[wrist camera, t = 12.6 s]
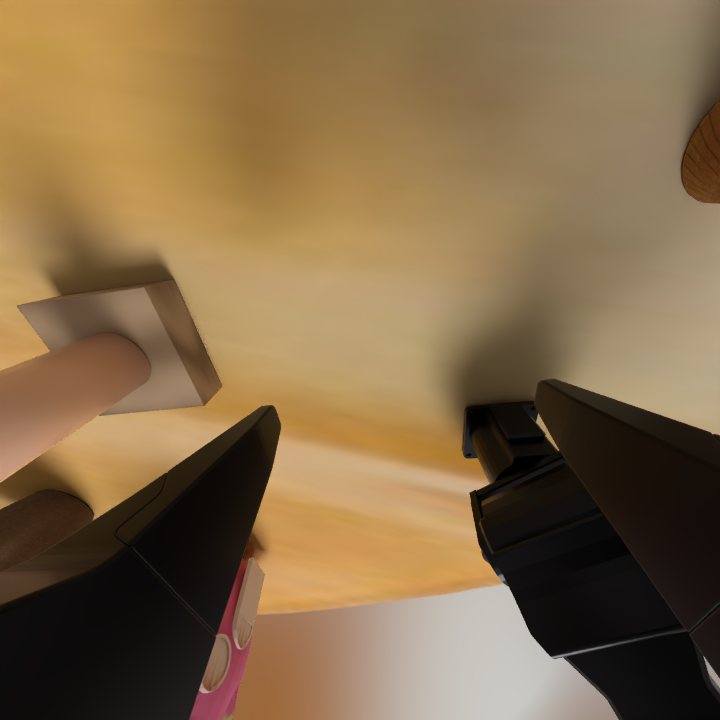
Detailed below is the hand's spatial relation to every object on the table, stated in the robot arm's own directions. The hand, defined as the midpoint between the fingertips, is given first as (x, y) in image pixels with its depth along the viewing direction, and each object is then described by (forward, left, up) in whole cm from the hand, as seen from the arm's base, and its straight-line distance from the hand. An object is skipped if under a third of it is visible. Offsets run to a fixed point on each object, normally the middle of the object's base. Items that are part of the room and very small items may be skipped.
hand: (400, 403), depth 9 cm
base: (-1, +21, -13) cm, 25 cm away
